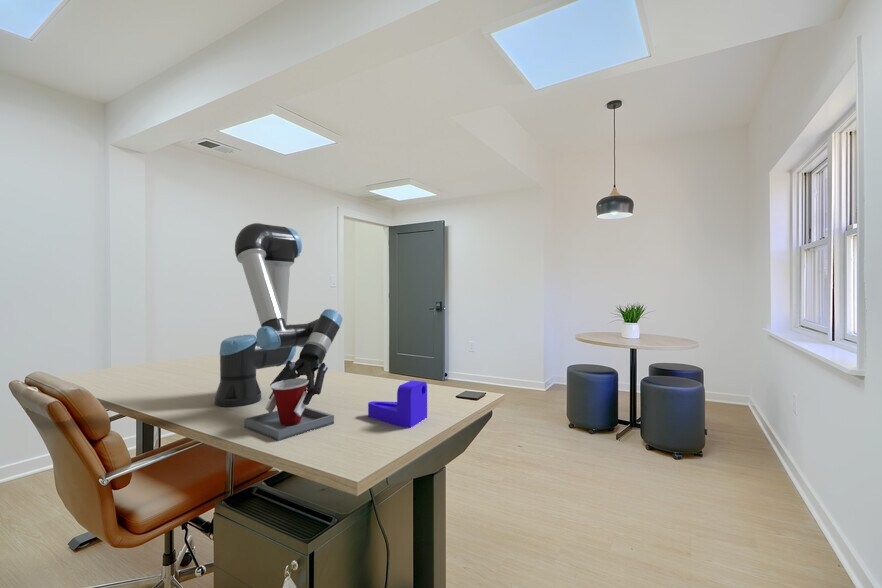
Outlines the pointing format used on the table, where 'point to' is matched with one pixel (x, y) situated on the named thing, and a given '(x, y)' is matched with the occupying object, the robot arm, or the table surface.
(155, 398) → the table surface
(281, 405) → the plastic cup
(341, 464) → the table surface
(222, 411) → the table surface
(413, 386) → the bracket
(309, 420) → the tray
